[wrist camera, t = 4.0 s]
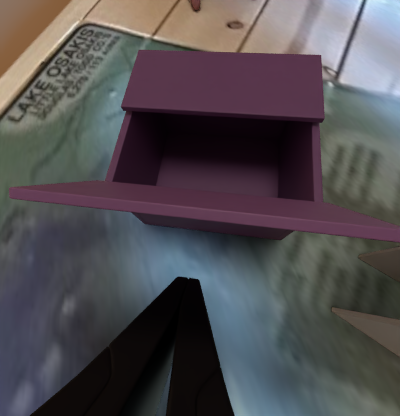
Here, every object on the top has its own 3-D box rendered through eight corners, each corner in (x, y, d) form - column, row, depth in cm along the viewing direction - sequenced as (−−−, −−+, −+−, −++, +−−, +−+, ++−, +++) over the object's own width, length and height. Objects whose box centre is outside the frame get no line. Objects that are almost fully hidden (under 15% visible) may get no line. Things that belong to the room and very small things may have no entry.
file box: (281, 240, 20) (330, 205, 11) (144, 224, 22) (95, 182, 13) (282, 139, 24) (322, 53, 15) (165, 131, 25) (138, 48, 16)
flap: (329, 203, 11) (328, 210, 12) (97, 180, 13) (97, 187, 13) (414, 230, 6) (410, 244, 6) (8, 187, 8) (9, 198, 8)
